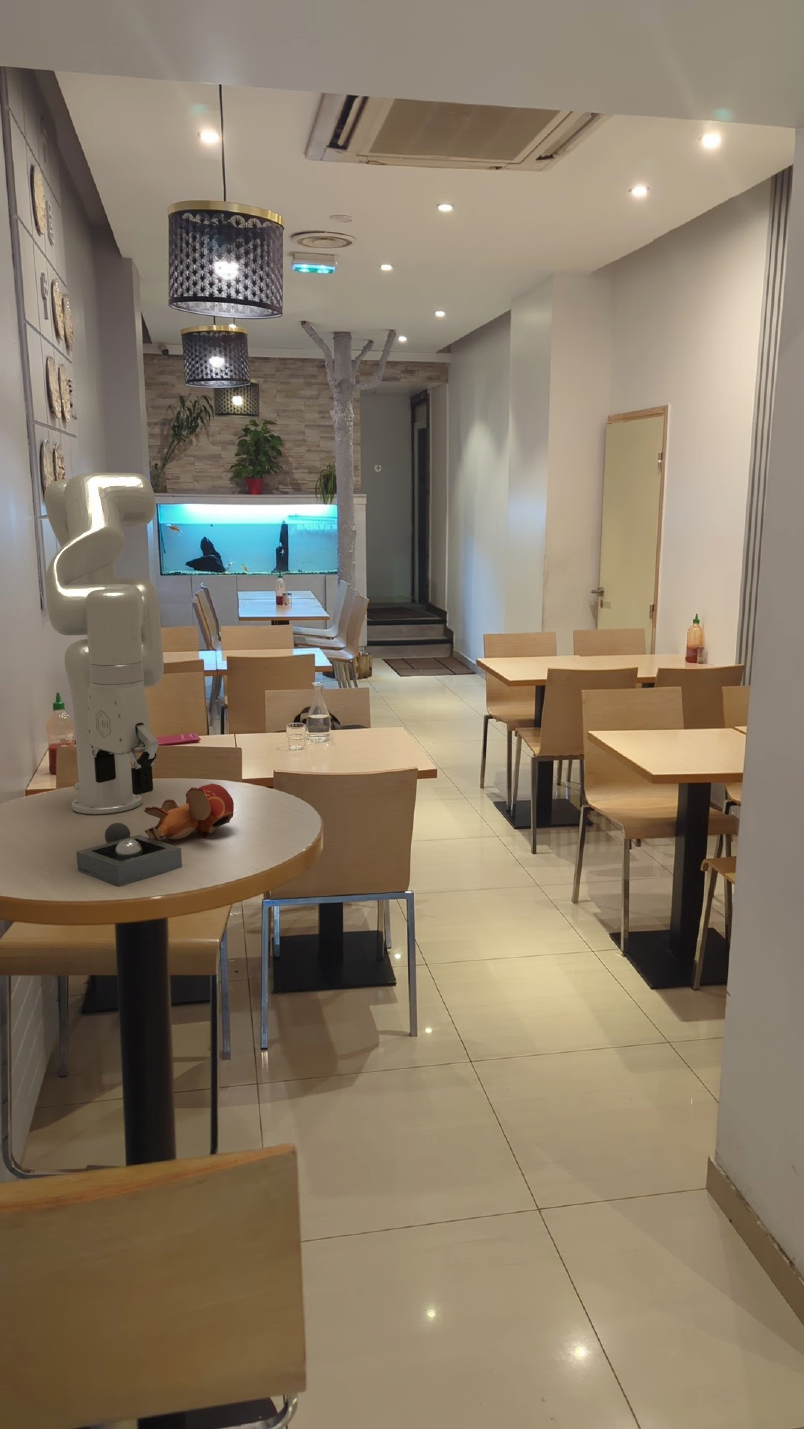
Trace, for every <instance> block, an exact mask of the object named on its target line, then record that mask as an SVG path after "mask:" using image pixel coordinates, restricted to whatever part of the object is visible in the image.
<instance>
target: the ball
mask: <svg viewBox="0 0 804 1429" xmlns="http://www.w3.org/2000/svg"><path fill="white" fill-rule="evenodd" d="M129 837H131V830H130V828H129V827H128V826H127V825H126V824H124V823H122V822H114V823H111V824H110V825H108V827H107V828H106V829H105V832H104V840H105V842H106V843H110V842H114V841H117V840H121V839H125V838H129Z"/></svg>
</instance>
